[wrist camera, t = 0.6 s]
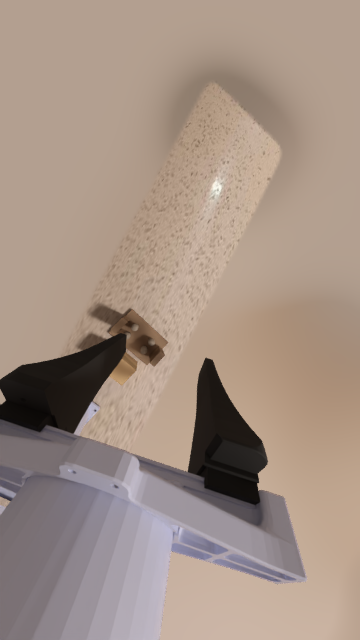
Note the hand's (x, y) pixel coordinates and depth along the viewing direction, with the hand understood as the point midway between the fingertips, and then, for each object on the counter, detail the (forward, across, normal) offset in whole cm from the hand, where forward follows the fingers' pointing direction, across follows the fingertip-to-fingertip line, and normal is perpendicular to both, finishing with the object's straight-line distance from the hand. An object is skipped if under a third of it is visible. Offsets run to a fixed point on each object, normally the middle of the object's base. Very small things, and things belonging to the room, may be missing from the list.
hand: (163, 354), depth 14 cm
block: (+14, +11, +18) cm, 25 cm away
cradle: (+17, +8, +13) cm, 23 cm away
